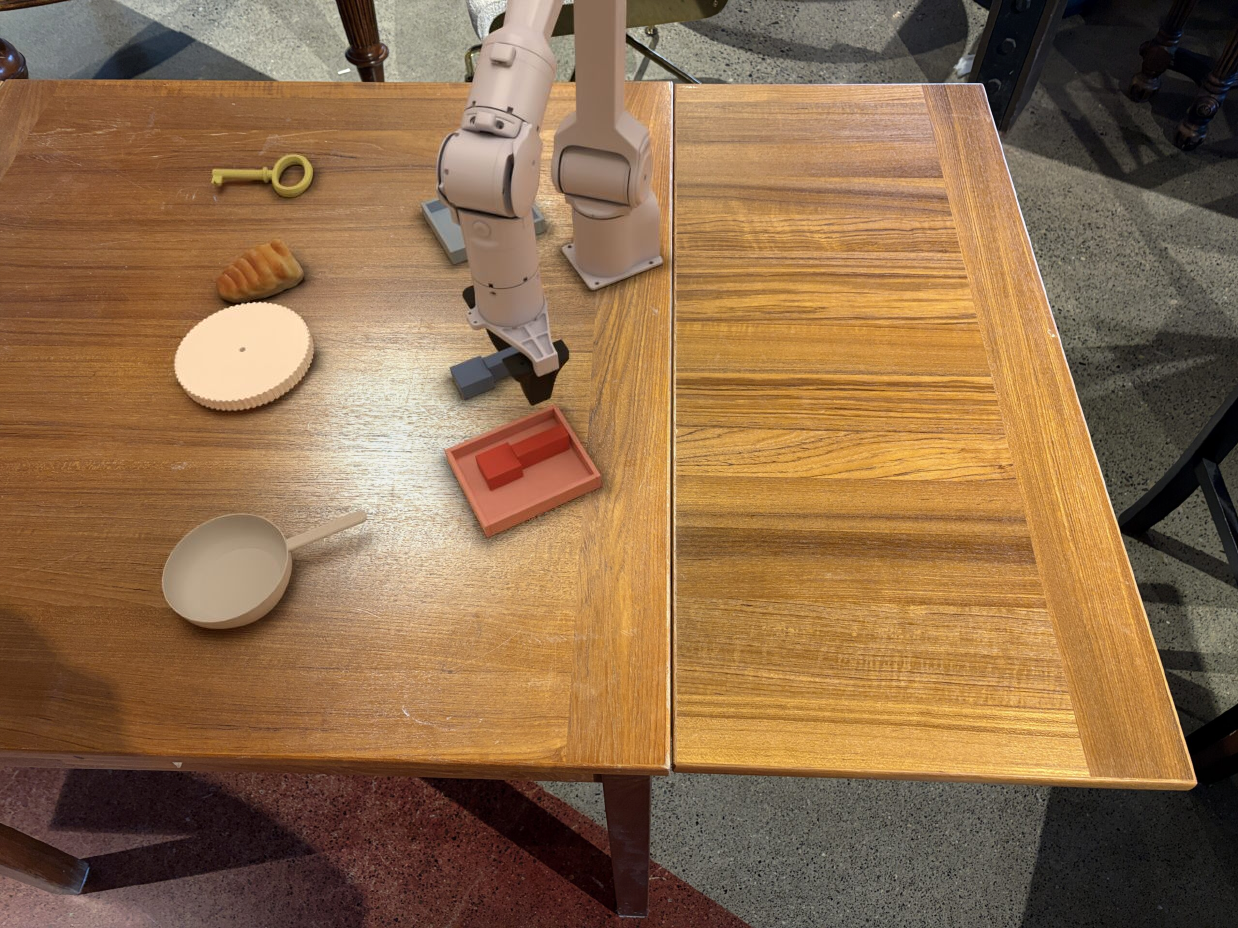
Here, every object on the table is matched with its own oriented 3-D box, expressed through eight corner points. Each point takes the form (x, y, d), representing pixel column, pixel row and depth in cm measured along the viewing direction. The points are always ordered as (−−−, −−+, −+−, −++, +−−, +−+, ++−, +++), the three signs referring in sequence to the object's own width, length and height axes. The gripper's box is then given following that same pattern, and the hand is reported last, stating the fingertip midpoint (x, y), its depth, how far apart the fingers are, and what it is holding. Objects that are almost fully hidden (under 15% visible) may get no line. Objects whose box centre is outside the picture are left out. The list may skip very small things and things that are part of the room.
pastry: (236, 318, 100) (222, 293, 97) (211, 286, 103) (197, 261, 100) (311, 280, 103) (300, 254, 100) (284, 250, 107) (273, 225, 103)
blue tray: (512, 185, 113) (510, 172, 111) (546, 231, 107) (544, 218, 106) (423, 215, 110) (420, 203, 108) (453, 265, 104) (450, 252, 103)
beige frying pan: (171, 557, 83) (153, 536, 79) (362, 490, 86) (351, 468, 83) (188, 658, 77) (168, 639, 74) (391, 581, 81) (381, 560, 78)
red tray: (557, 415, 91) (555, 403, 90) (601, 486, 86) (601, 475, 85) (447, 461, 88) (444, 449, 87) (487, 538, 83) (484, 527, 82)
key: (213, 182, 114) (206, 168, 112) (309, 158, 117) (304, 144, 115) (221, 217, 110) (214, 203, 109) (320, 191, 113) (315, 177, 111)
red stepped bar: (559, 432, 89) (557, 417, 88) (573, 455, 88) (572, 440, 86) (477, 467, 87) (474, 453, 85) (490, 491, 86) (487, 477, 84)
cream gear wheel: (311, 307, 101) (304, 290, 99) (322, 398, 93) (315, 383, 91) (183, 334, 99) (173, 318, 97) (184, 430, 91) (173, 415, 89)
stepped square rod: (529, 349, 97) (526, 334, 95) (541, 369, 95) (539, 353, 93) (452, 379, 94) (448, 364, 92) (464, 400, 93) (460, 385, 91)
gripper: (427, 229, 77) (455, 338, 88) (495, 339, 69) (515, 442, 80) (502, 203, 78) (520, 312, 90) (576, 306, 71) (585, 412, 82)
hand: (522, 372), depth 85 cm, fingers open, 7 cm apart
